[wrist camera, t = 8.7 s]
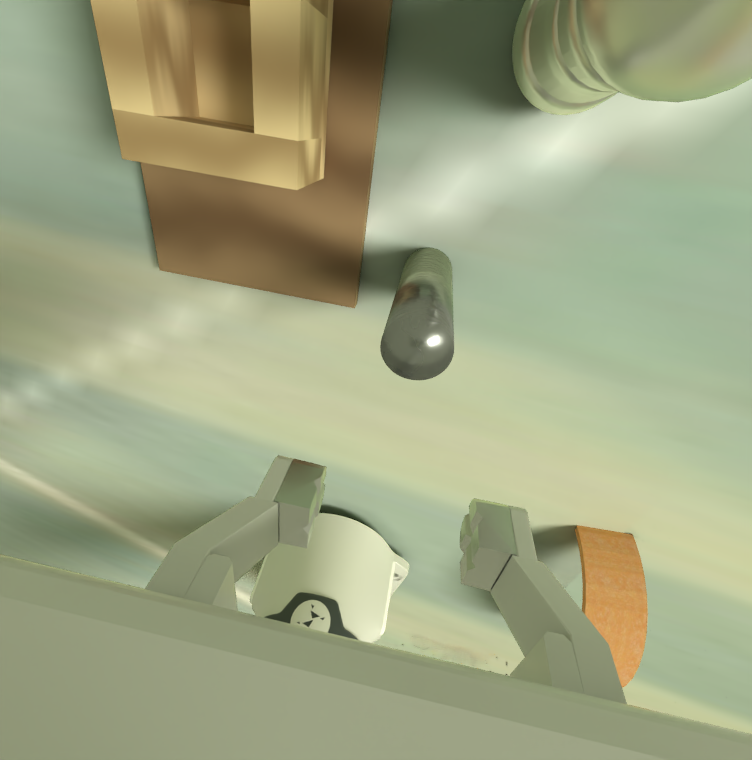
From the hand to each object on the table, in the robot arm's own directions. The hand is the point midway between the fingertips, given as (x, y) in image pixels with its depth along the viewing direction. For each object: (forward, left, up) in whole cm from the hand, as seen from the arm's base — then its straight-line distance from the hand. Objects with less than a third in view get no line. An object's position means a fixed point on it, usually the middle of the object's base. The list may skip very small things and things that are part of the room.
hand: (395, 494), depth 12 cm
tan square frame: (+10, +13, -20) cm, 26 cm away
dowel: (0, 0, -21) cm, 21 cm away
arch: (-33, -25, -22) cm, 47 cm away
